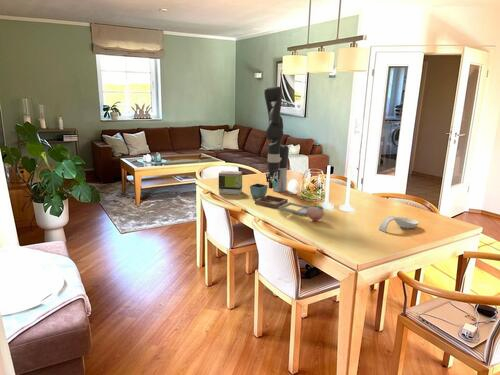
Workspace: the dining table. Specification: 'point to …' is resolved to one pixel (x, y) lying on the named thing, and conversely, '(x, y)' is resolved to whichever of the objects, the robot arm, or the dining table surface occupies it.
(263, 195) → the flower pot
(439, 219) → the dining table surface
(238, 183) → the retro computer monitor
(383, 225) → the spoon rest
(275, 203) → the walnut box
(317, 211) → the decorative fruit
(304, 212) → the tray
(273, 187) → the ball
